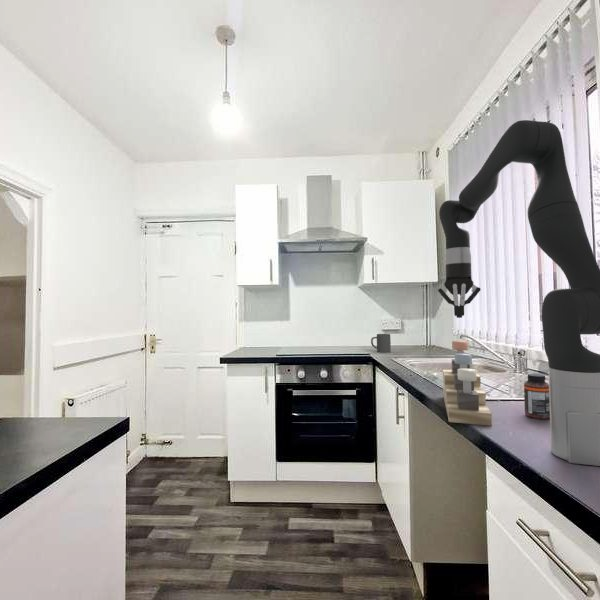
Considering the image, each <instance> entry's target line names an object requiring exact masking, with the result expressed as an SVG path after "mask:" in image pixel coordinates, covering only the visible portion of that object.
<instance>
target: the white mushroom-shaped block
mask: <svg viewBox="0 0 600 600" xmlns="http://www.w3.org/2000/svg"><path fill="white" fill-rule="evenodd" d="M457 370H458V380H461V381H463V393H471V381H476V380H477V377H476V372H477V369H474V368H470V369H466V368H461V369H457Z"/></svg>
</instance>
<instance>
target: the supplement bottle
mask: <svg viewBox="0 0 600 600" xmlns="http://www.w3.org/2000/svg"><path fill="white" fill-rule="evenodd" d="M523 393H524V394H523V397H524V398H523V399H524V403H523V404H524V415H526V416H527V417H529V418H532V419H538V420H547V419H550V401H549V382H548V383H547V382H546V375H544V374H542V373H533V372H532V373H528V374H527V381H525V382H524V383H523Z"/></svg>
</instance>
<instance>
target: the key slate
mask: <svg viewBox="0 0 600 600" xmlns="http://www.w3.org/2000/svg"><path fill="white" fill-rule="evenodd" d="M454 359H455V364H460V369H461V368H466V369H467V365H470V366H471V365H473V355H472V354H470V353H464V354H457V353H455V354H454Z"/></svg>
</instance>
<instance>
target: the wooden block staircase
mask: <svg viewBox="0 0 600 600" xmlns="http://www.w3.org/2000/svg"><path fill="white" fill-rule="evenodd" d="M470 367H471V364H470V365H467V369H471V368H470ZM457 369H460V364H455V358H451V369H442V386H443V387H442V388H443V391H442V392H443V393H442V394H443V396H442V397H443V401H444V406H445V410H446V415H447V416H446V417H447V418H448V419H447V420H448V423H458V424H467V425H470V424H471V425H480V426H482V425H483V426H492V424H493V422H492V421H493V417H492V415H493V414H492V412H491V410H490V409H489V407H488V406H487V402H486V401H487V400H486V399H487V398H486V396H487V395H486V392H485V390H484V389H483V387H482V386H481V385H482V384H481V382H482V381H481V375H480V374H479V372H478V371H476V377H477V380H476V381H471V393H463V381H461V380H458V370H457Z"/></svg>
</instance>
